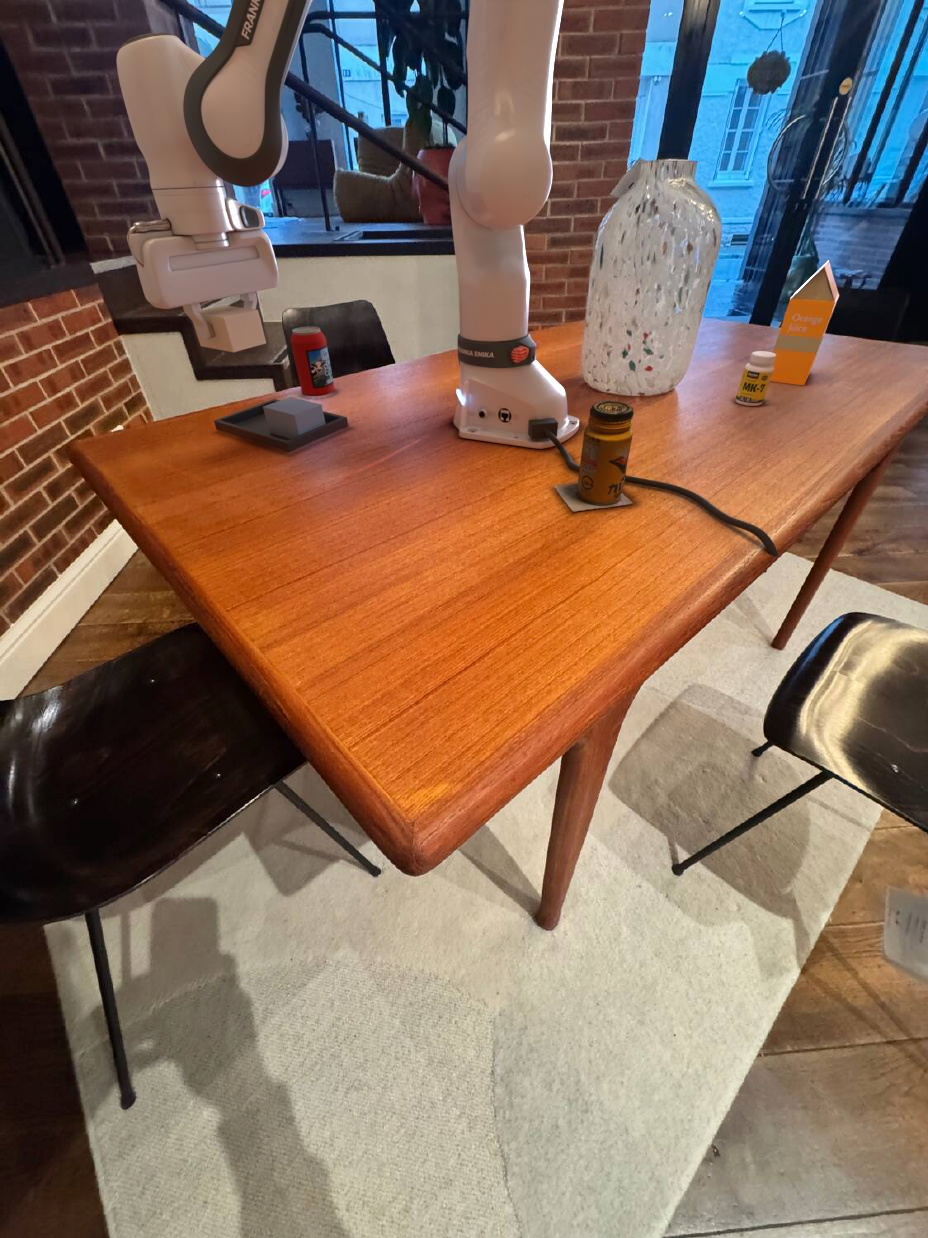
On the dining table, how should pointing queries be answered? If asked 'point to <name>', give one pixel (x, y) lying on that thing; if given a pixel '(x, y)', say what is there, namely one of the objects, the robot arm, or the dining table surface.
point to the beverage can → (312, 361)
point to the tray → (256, 429)
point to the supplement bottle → (756, 378)
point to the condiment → (602, 459)
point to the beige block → (232, 328)
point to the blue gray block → (293, 417)
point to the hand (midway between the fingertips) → (230, 332)
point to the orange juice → (804, 327)
